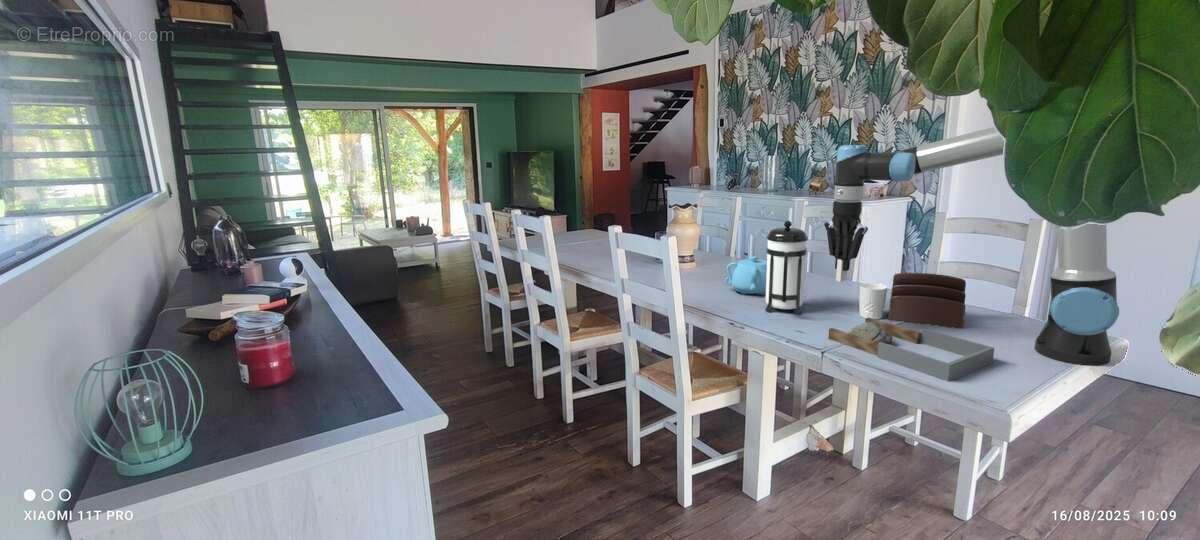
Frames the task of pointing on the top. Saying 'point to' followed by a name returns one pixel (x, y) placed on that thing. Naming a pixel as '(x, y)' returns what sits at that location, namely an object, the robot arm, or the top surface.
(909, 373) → the top surface
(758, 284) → the decorative pot
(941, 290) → the letter holder
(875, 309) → the white cup
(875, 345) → the slot rails
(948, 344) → the tray
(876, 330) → the fossilized seashell
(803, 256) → the coffee press
